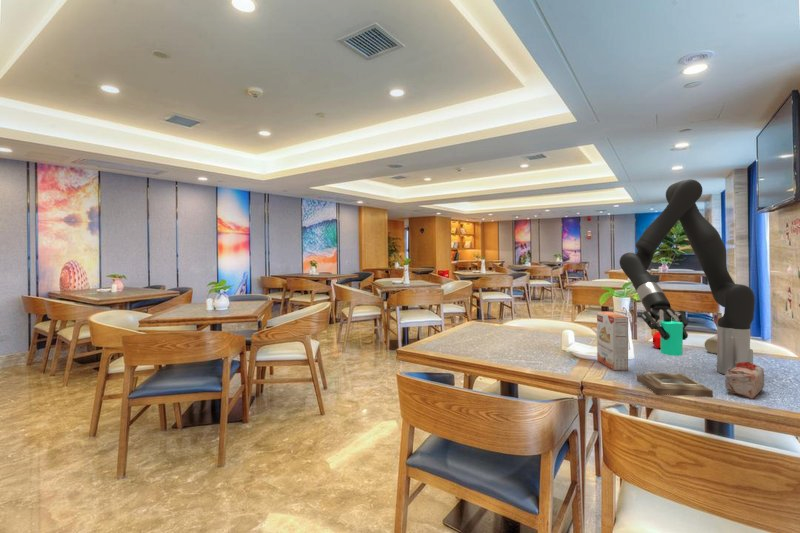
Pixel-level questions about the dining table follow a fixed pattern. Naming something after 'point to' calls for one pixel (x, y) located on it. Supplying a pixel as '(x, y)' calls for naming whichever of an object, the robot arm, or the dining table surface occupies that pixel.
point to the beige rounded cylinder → (711, 344)
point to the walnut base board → (673, 384)
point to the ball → (657, 340)
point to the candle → (672, 338)
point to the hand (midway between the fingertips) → (676, 338)
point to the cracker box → (612, 340)
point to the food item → (745, 379)
